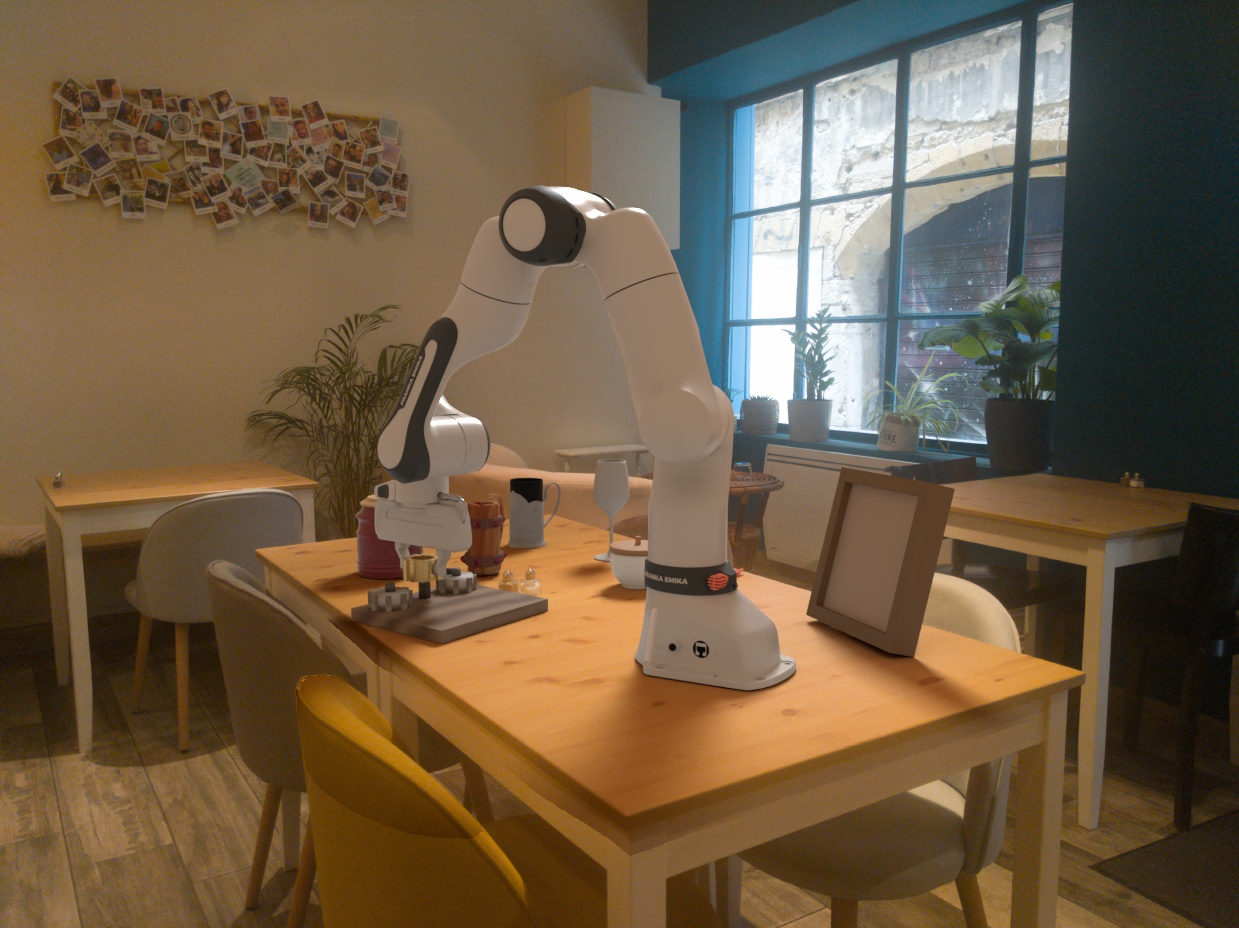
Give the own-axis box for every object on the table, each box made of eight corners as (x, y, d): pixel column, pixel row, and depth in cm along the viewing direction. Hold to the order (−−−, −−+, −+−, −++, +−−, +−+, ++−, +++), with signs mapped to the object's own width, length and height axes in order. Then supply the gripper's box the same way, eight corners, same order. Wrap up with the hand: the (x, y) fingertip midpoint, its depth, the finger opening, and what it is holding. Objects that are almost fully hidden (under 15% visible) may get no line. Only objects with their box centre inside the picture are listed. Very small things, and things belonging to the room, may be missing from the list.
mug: (495, 579, 181) (495, 502, 180) (455, 577, 183) (454, 500, 181) (518, 564, 195) (518, 492, 194) (481, 562, 197) (480, 490, 195)
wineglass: (635, 557, 203) (636, 460, 201) (616, 563, 197) (617, 463, 195) (606, 553, 207) (606, 458, 205) (586, 559, 201) (586, 460, 199)
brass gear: (450, 577, 159) (450, 557, 159) (421, 584, 154) (421, 563, 154) (424, 572, 163) (424, 552, 163) (394, 578, 158) (394, 558, 158)
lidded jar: (623, 594, 170) (623, 543, 169) (600, 582, 180) (600, 533, 179) (676, 589, 175) (676, 539, 174) (650, 577, 184) (651, 529, 183)
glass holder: (499, 544, 217) (499, 479, 215) (548, 536, 227) (548, 474, 225) (522, 549, 211) (522, 483, 209) (571, 541, 220) (571, 478, 219)
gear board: (548, 610, 159) (547, 569, 158) (441, 643, 140) (441, 597, 139) (460, 592, 171) (459, 554, 171) (351, 620, 152) (350, 577, 151)
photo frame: (889, 659, 133) (897, 483, 131) (805, 620, 153) (811, 467, 151) (973, 650, 138) (983, 481, 136) (881, 613, 159) (888, 465, 156)
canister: (401, 582, 179) (400, 490, 177) (343, 577, 183) (341, 486, 181) (436, 568, 191) (435, 481, 189) (381, 563, 195) (379, 479, 193)
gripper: (480, 493, 153) (480, 577, 155) (396, 483, 166) (397, 560, 167) (451, 498, 148) (452, 584, 150) (367, 486, 160) (368, 566, 162)
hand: (422, 571), depth 159 cm, fingers closed on brass gear, 6 cm apart
